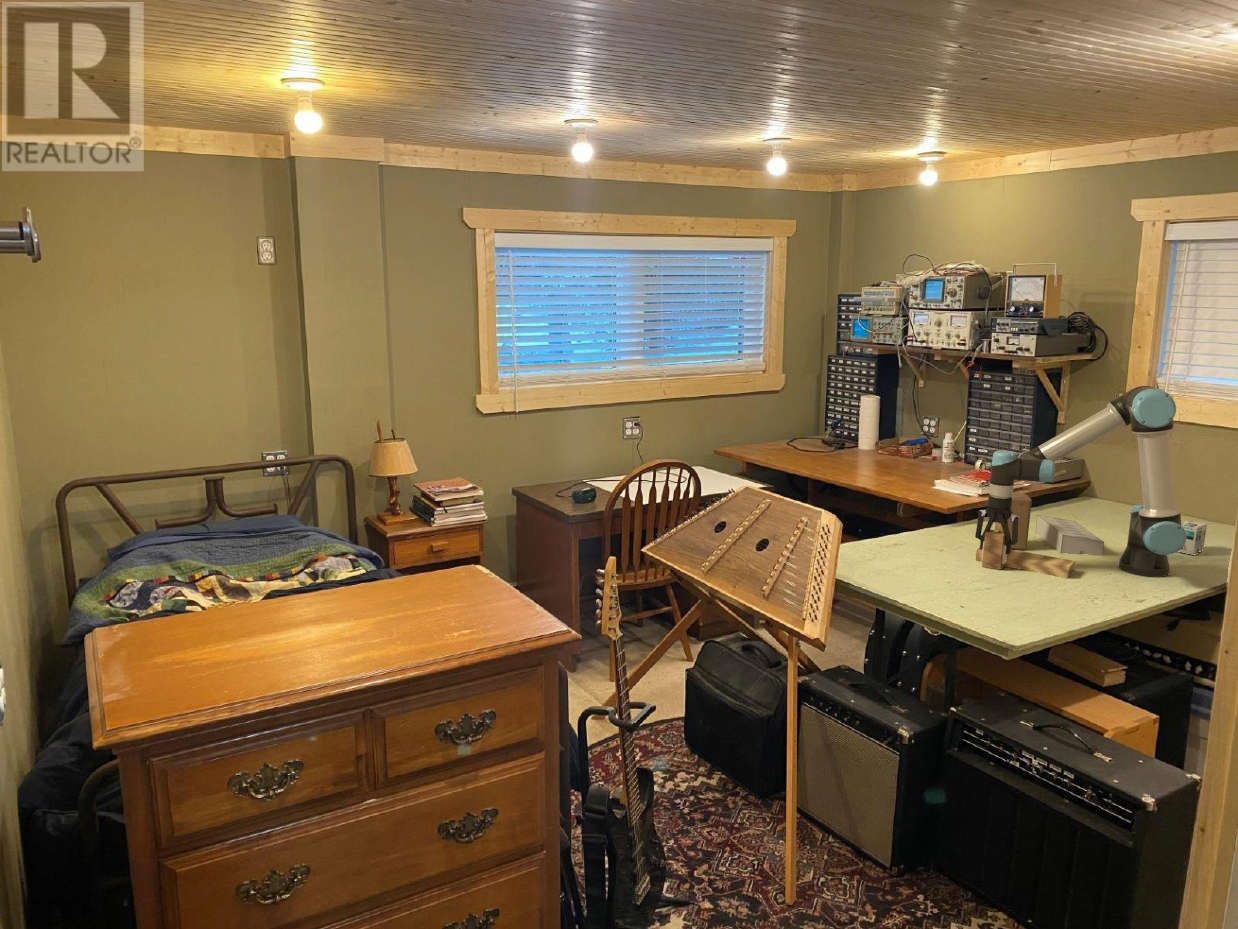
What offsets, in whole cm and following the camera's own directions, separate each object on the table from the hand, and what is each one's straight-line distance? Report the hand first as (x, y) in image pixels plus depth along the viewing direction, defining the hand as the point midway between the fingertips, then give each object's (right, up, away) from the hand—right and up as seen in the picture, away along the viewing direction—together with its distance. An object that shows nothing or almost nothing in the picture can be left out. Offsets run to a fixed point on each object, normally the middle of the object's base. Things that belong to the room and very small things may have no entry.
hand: (994, 560), depth 304 cm
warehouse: (+41, +3, +31) cm, 52 cm away
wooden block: (+17, +2, +26) cm, 31 cm away
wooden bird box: (+3, -1, +4) cm, 5 cm away
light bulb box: (+82, +1, +22) cm, 85 cm away
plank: (+11, -2, +1) cm, 11 cm away
